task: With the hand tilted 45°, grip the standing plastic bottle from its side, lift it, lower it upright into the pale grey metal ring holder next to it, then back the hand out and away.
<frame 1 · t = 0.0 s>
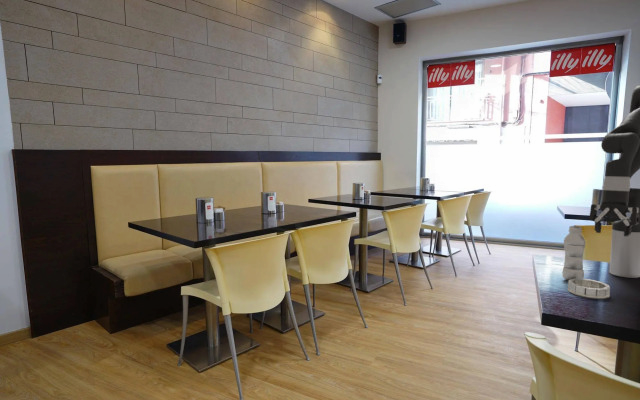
hand: (611, 234, 135), 17 cm above the table, tool pointing down, fingers open, 8 cm apart
ring holder: (588, 292, 125), on the table
plastic bottle: (572, 281, 138), on the table
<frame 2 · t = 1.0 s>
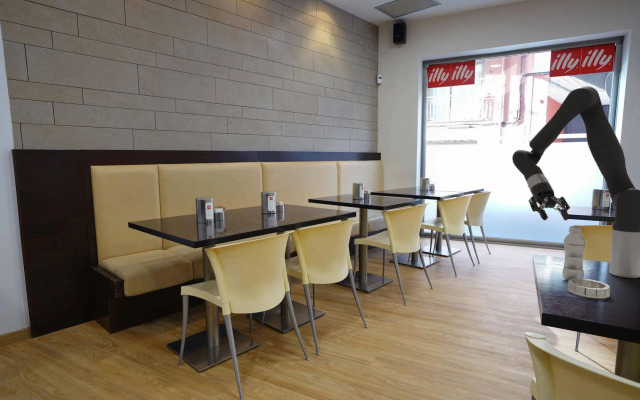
hand: (556, 219, 146), 21 cm above the table, tool tilted 45°, fingers open, 8 cm apart
nothing on the table moved.
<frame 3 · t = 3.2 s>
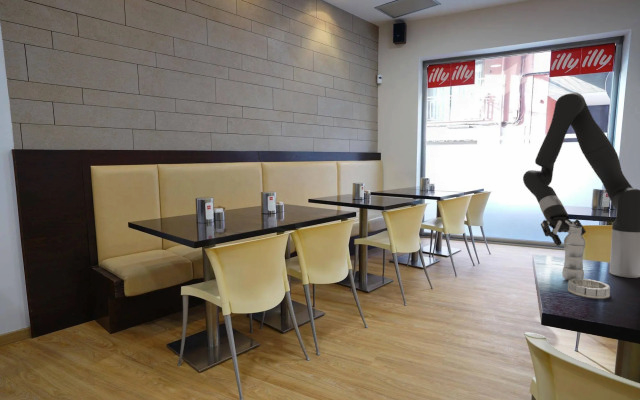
hand: (571, 244, 138), 13 cm above the table, tool tilted 45°, fingers open, 8 cm apart
nothing on the table moved.
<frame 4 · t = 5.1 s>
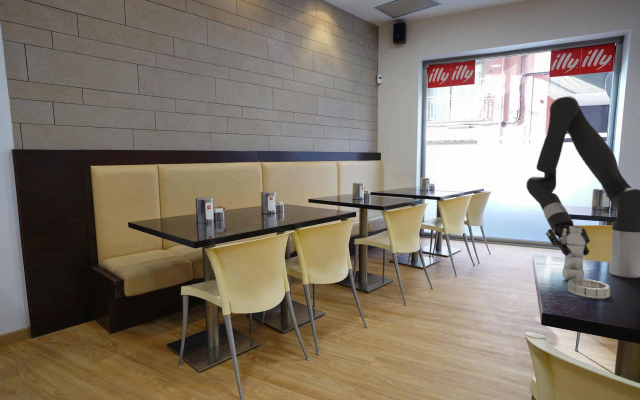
hand: (577, 254, 135), 10 cm above the table, tool tilted 45°, fingers closed on plastic bottle, 6 cm apart
plastic bottle: (572, 281, 138), on the table, touching gripper
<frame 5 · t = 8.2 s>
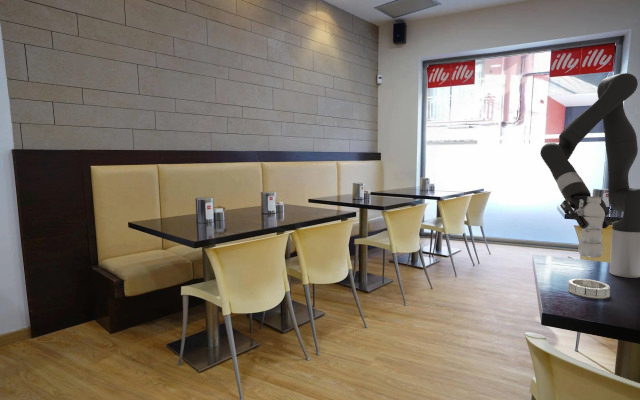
hand: (595, 227, 122), 22 cm above the table, tool tilted 45°, fingers closed on plastic bottle, 6 cm apart
plastic bottle: (589, 257, 124), point 12 cm above the table, touching gripper
when the fingers open (12 cm above the table, at t = 11.3 s): plastic bottle drops 1 cm, resting on ring holder.
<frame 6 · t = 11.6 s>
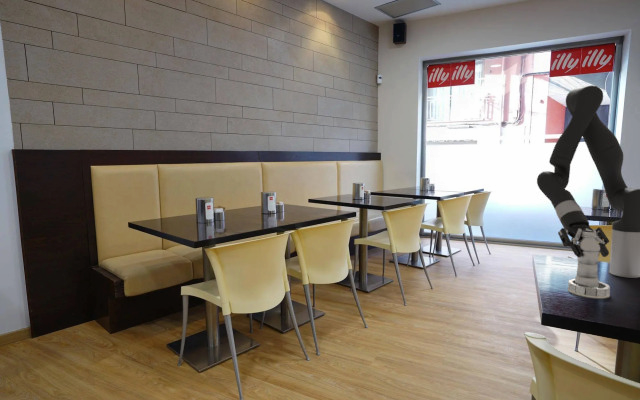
hand: (593, 255, 123), 13 cm above the table, tool tilted 45°, fingers open, 8 cm apart
plastic bottle: (586, 291, 126), resting on ring holder
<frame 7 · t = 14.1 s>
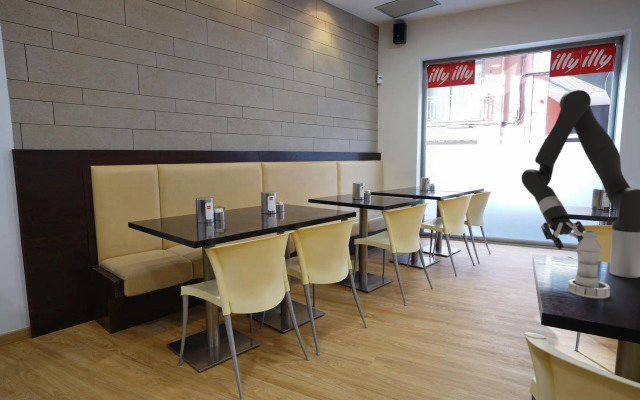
hand: (573, 247, 133), 13 cm above the table, tool tilted 45°, fingers open, 8 cm apart
nothing on the table moved.
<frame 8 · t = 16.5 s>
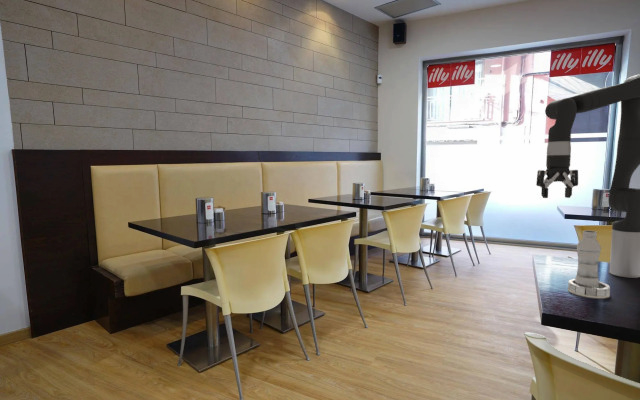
hand: (556, 197, 141), 30 cm above the table, tool pointing down, fingers open, 8 cm apart
nothing on the table moved.
at the end: plastic bottle 0.5 cm off-centre on the ring holder, point 0.4 cm above the ring holder's base; plastic bottle tilted 0°; the gripper is holding nothing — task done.
